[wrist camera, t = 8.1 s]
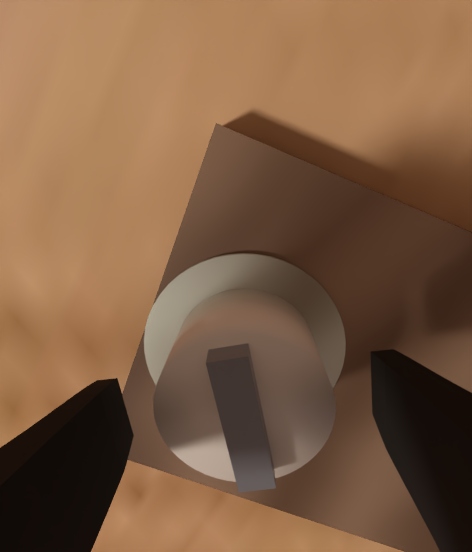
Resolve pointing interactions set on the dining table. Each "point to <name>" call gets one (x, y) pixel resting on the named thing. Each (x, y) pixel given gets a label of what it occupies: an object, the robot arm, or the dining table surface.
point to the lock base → (316, 317)
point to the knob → (244, 390)
